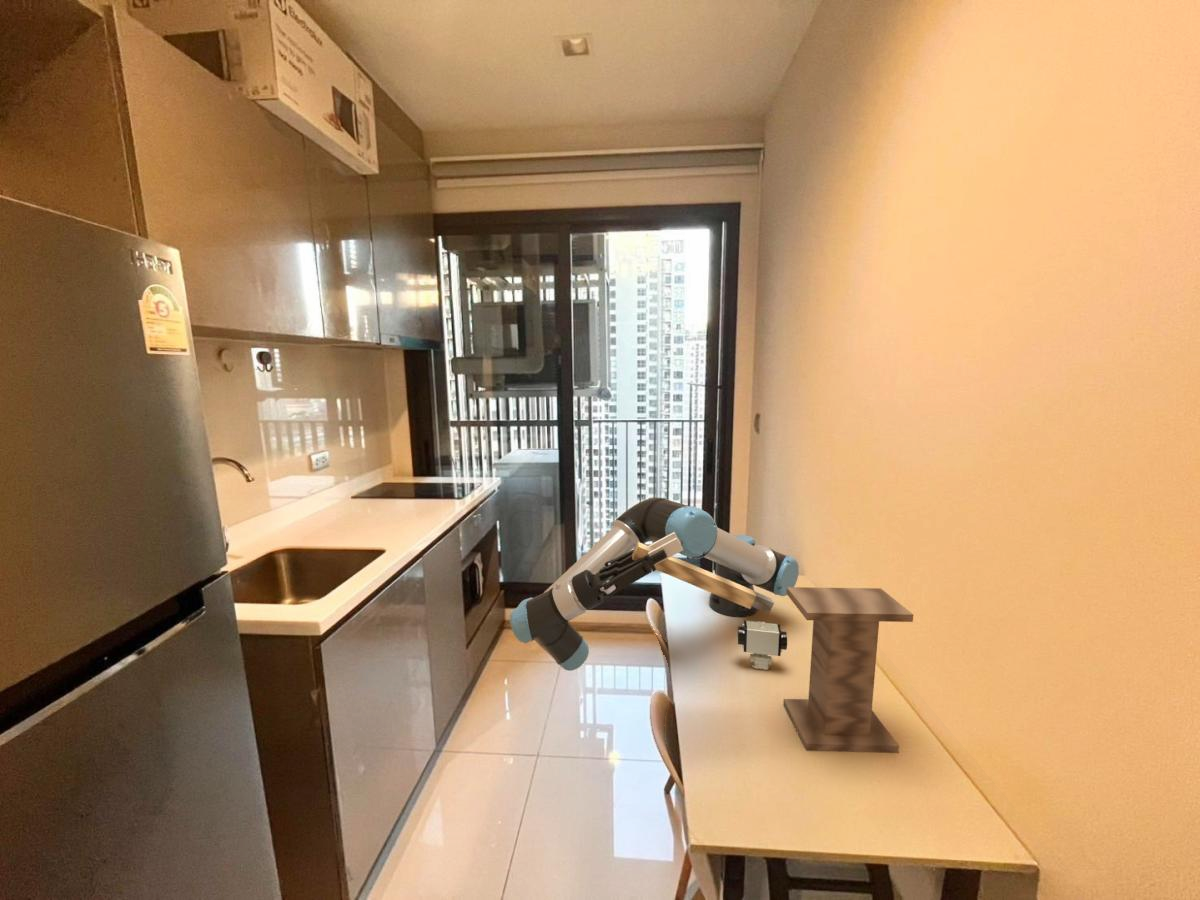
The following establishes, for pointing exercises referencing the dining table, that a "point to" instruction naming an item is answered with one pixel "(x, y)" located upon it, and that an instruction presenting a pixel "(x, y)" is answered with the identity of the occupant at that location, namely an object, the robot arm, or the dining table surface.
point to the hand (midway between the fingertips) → (678, 540)
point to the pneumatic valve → (762, 642)
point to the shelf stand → (843, 668)
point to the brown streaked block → (707, 580)
